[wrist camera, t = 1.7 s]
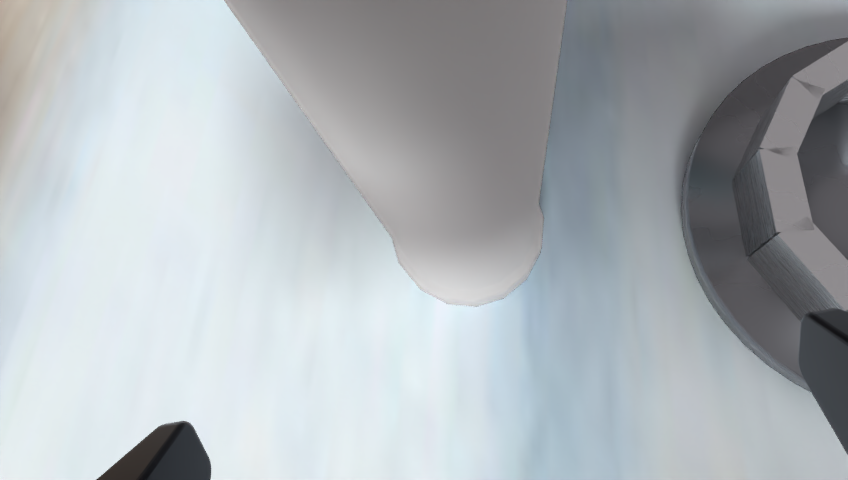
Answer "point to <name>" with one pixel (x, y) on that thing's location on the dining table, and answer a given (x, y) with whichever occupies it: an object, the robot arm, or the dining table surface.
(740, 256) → the grey ring
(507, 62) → the bottle
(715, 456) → the dining table surface
